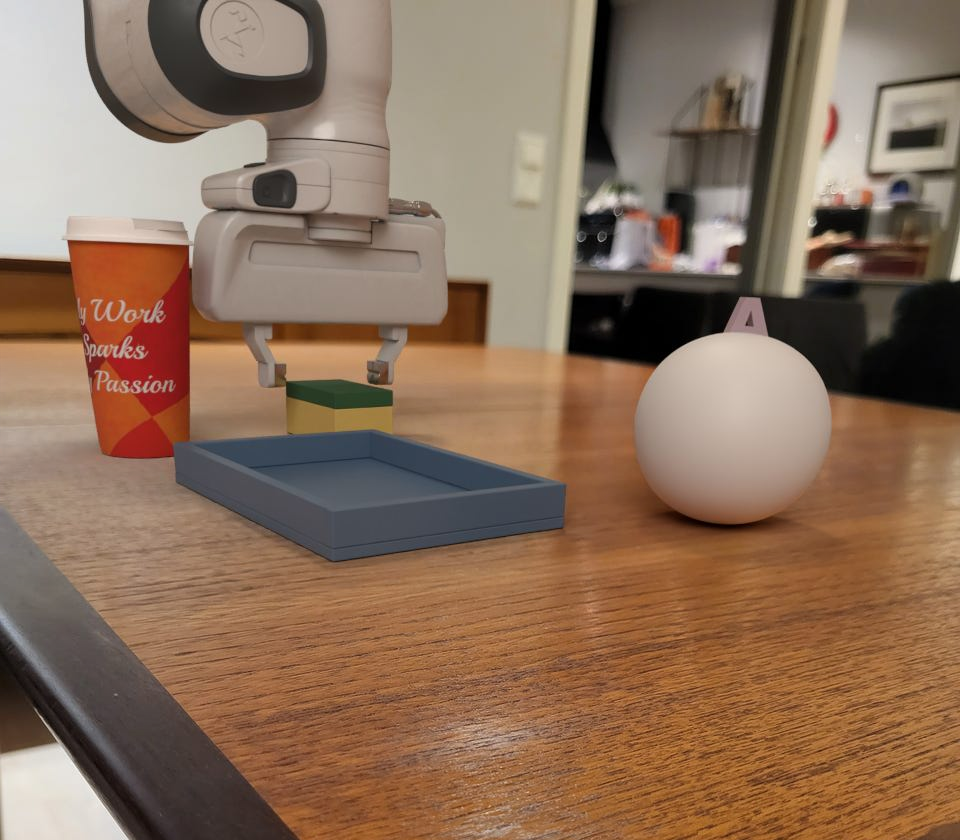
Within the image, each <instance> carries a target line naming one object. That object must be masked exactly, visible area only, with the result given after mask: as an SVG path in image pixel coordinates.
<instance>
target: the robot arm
mask: <svg viewBox="0 0 960 840" xmlns="http://www.w3.org/2000/svg"><path fill="white" fill-rule="evenodd" d="M82 5H83V22H84V27H83V28H84V49H85V59H86V64H87V69H88V72H89V76H90V79H91V82H92V84H93V87H94V89H95V90H96V93H97V95H98V97H99V98H100V100H101V101H102V103H103V104H104V106H105V107H106V109H107V110H108V111H109V112H110V114H112V116H113V117H114V118H115V119H116V120H117V121H118V122H120V123H121V124H122V125H123V126H124V127H125V128H127V129H128V130H130V131H131V132H133V133H135V134H136V135H138V136H140V137H142V138H144V139H147V140H149V141H153V142H156V143H163V144H181V143H185V142H189V141H192V140H195V139H196V138H198V137H200V136H202V135H204V134H206V133H208V132H210V131H213V130H218V129H222V128H227V127H230V126H231V125H235V124H239V123H242V122H245V121H255V122H258V123H259V124H260V125H262V126H263V128H264V130H265V140H266V141H265V142H266V145H265V146H266V147H265V148H266V158H264V161H260V162H250V163H248V164H244V165H243V166H242V167H239V168H235V169H232V170H227V171H222V172H219V173H215V174H211V175H208V176H206V177H204V178H203V179H202V180H201V183H200V197H201V201H202V204H203V205H204V207H205V208H207V209H209V210H212V211H210V212H207V213H206V214H204V216H202V218H201V219H200V220H199V222H198V224H197V226H196V229H195V233H194V240H193V244H194V246H193V248H192V249H193V250H192V263H191V265H192V266H191V292H192V293H191V297H192V303H193V306H194V308H195V309H196V311H197V312H198V313H199V315H201V317H202V318H203V319H204V320H205V321H209V322H216V323H223V324H225V323H228V324H229V323H230V324H231V323H232V324H242V326H241V327H242V338H243V340H244V342H245V344H246V345H247V347H248V349H249V351H250V352H251V354H252V356H253V358H254V360H255V361H256V362H257V378H258V379H257V380H258V384H259V386H260V387H263V388H266V389H274V388H278V389H279V388H286V381H287V377H286V374H287V363H285V362H280V361H276V359H275V357H274V355H273V353H272V351H271V349H270V347H269V345H268V343H267V341H266V340H272V339H273V324H282V325H283V324H286V325H287V324H288V325H292V324H293V325H343V326H344V325H347V326H348V325H350V326H351V325H352V326H378V337H379V339H383V342H382V344H381V347H380V349H379V351H378V353H377V355H376V358H375V359H371V360H370V359H369V360H366V370H367V373H366V381H367V384H368V385H373V386H391V385H393V384H394V377H395V376H394V375H395V374H394V373H395V363H396V362H397V360H398V359H399V357H400V355H401V353H402V351H403V349H404V347H405V345H406V343H407V342H408V329H409V326H410V327H413V326H414V327H415V326H416V327H419V326H420V327H438V326H440V325H441V324H442V322H443V320H444V319H445V318H446V316H447V314H448V311H449V310H448V309H449V289H448V273H447V271H448V270H447V261H446V253H445V249H446V248H445V247H446V223H445V220H444V219H443V217H442V216H441V214H440V213H439V212H438V211H437V210H436V209H435V208H433V206H432V205H431V203H429V202H427V201H423V200H414V201H410V200H404V199H402V198H396V197H395V198H394V197H390V184H391V183H390V181H391V180H390V178H391V141H390V137H389V133H388V129H387V121H386V120H387V119H386V114H387V112H386V111H387V103H388V99H389V96H390V93H391V89H392V82H393V26H392V25H393V23H392V22H393V21H392V7H391V6H392V5H391V0H82ZM431 215H432V216H433V217H430V216H431Z"/></svg>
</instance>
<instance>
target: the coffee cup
mask: <svg viewBox="0 0 960 840" xmlns="http://www.w3.org/2000/svg"><path fill="white" fill-rule="evenodd" d="M188 232H189V231H188V230H186V227H185V225H184V221H178V220H168V219H166V220H165V219H154V218H153V219H151V218H135V217H115V216H113V217H111V216H109V217H108V216H86V215H84V216H82V215H81V216H80V215H79V216H78V215H71V216H70V215H69V216H68V217H67V220H66V234H64V235H62V236H61V241H67V242H66V243H67V248H68V255H69V263H70V268H71V275H72V281H73V287H74V294H75V300H76V307H77V314H78V320H79V327H80V334H81V341H82V346H83V353H84V360H85V366H86V372H87V378H88V385H89V391H90V398H91V403H92V410H93V414H94V422H95V423H94V424H95V428H96V434H97V439H98V444H99V449H100V452H101V453H102V454H104V455H107V456H112V457H116V458H117V457H118V458H132V459H148V458H150V459H151V458H165V457H174V447H173V443H175V442H188V441H191V440H190V438H191V437H190V435H191V316H190V315H191V312H190V311H191V310H190V309H191V307H190V293H191V292H190V290H191V289H190V247H194V241H192V240H190V238H189V233H188Z"/></svg>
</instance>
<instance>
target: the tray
mask: <svg viewBox="0 0 960 840" xmlns="http://www.w3.org/2000/svg"><path fill="white" fill-rule="evenodd" d="M173 447H174V456H173V459H174V471H175V472H174V475H175V476H174V477H175V482H176V483H178V484H179V485H182V486H184V487H186V488H187V489H190V490H192V491H193V492H195V493H197V494H199V495H201V496H204V497H205V498H206V499H209V500H211V501H213V502H214V503H217V504H219V505H221V506H223V507H225V508H227V509H228V510H231V511H233V512H234V513H237V514H239V515H240V516H243V517H244V518H246V519H249V520H250V521H253V522H254V523H256V524H258V525H260V526H262V527H264V528H266V529H268V530H270V531H272V532H274V533H275V534H278V535H280V536H282V537H284V538H286V539H287V540H290V541H292V542H293V543H296V544H297V545H300V546H301V547H304V548H305V549H307V550H309V551H311V552H314V553H315V554H317V555H319V556H321V557H323V558H325V559H327V560H329V561H331V562H340V561H347V560H353V559H361V558H368V557H373V556H374V557H375V556H381V555H387V554H393V553H400V552H408V551H413V550H414V551H415V550H422V549H428V548H435V547H440V546H447V545H448V546H449V545H453V544H462V543H469V542H474V541H482V540H487V539H494V538H500V537H501V538H502V537H507V536H516V535H522V534H528V533H535V532H541V531H550V530H557V529H562V528H564V526H565V525H564V524H565V511H566V510H565V509H566V495H567V483H565V482H561V481H559V480H555V479H551V478H548V477H544V476H540V475H537V474H533V473H529V472H527V471H523V470H519V469H516V468H512V467H510V466H509V467H508V466H505V465H502V464H499V463H495V462H490V461H487V460H484V459H481V458H477V457H473V456H470V455H466V454H464V453H460V452H455V451H453V450H449V449H447V448H446V449H445V448H442V447H439V446H434V445H431V444H428V443H424V442H421V441H417V440H413V439H410V438H407V437H404V436H399V435H396V434H394V433H393V434H389V433H386V432H382V431H378V430H375V429H368V430H353V431H338V432H323V433H308V434H280V435H264V436H250V437H248V436H247V437H233V438H220V439H205V440H190V441H188V442H175V443H173Z"/></svg>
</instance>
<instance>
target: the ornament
mask: <svg viewBox="0 0 960 840" xmlns="http://www.w3.org/2000/svg"><path fill="white" fill-rule="evenodd" d="M761 300H762V299H761V297H749V296H740V297H739V299H738V301H737V303H736V305H735V306H734V309H733V311H732V313H731V316H730V318H729V320H728V322H727V323H726V326H725V328H724V330H723V332H719V333H714V334H709V335H706V336H702V337H700V338H696V339H693V340H691V341H690V342H687V343H686V344H684V345H682V346H680V347H679V348H677V349H675V350H674V351H673V352H671V353H670V354H669V355H668V356H667V357H665V358H664V359H663V360H662V361H661V362H660V363H659V364H658V365H657V366H656V368H655V369H654V370H653V372H652V373H651V375H650V376H649V378H648V379H647V382H646V383H645V385H644V387H643V388H642V391H641V394H640V396H639V399H638V402H637V406H636V408H635V409H636V410H635V413H634V421H633V445H634V452H635V456H636V461H637V465H638V467H639V469H640V472H641V474H642V476H643V478H644V479H645V481H646V483H647V485H648V487H649V488H650V489H651V490H652V492H653V493H654V494H655V495H656V496H657V498H659V499H660V500H661V501H662V502H663V503H665V505H666V506H668V507H670V508H671V509H672V510H674V511H676V512H678V513H680V514H682V515H684V516H685V517H688V518H691V519H694V520H697V521H701V522H705V523H710V524H717V525H741V524H743V525H744V524H748V523H753V522H754V523H755V522H758V521H761V520H765V519H767V518H770V517H772V516H774V515H777V514H778V513H780V512H781V511H784V510H786V509H787V508H788V507H790V506H791V505H793V504H794V503H795V502H796V501H798V499H800V498H801V497H802V496H803V495H804V494H805V493H806V491H807V490H808V489H809V488H810V486H811V485H812V484H813V483H814V481H815V480H816V478H817V476H818V474H819V473H820V472H821V469H822V467H823V465H824V463H825V460H826V457H827V454H828V451H829V448H830V443H831V437H832V431H833V429H832V428H833V419H832V417H833V415H832V407H831V403H830V397H829V394H828V391H827V388H826V386H825V383H824V380H823V379H822V377H821V375H820V374H819V372H818V371H817V369H816V368H815V366H814V365H813V364H812V363H811V362H810V361H809V360H808V359H807V358H806V357H805V356H804V355H803V354H802V353H800V352H799V351H798V350H796V349H795V347H792V346H791V345H789V344H787V343H785V342H783V341H781V340H779V339H777V338H774V337H771V336H769V333H768V329H767V324H766V319H765V315H764V310H763V305H762V301H761ZM746 324H747V325H746Z"/></svg>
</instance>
